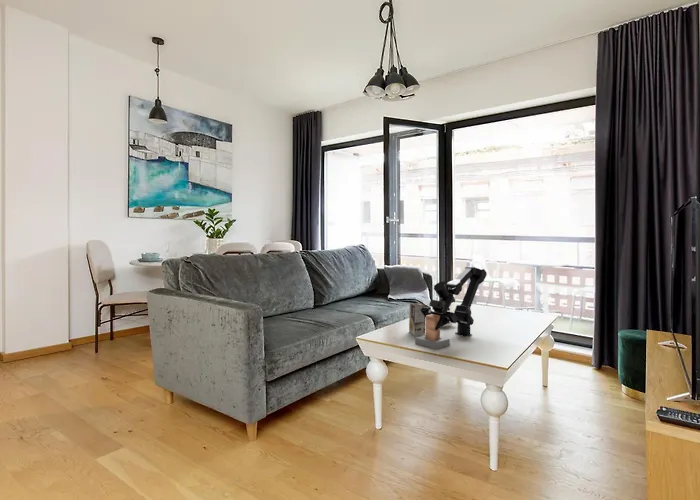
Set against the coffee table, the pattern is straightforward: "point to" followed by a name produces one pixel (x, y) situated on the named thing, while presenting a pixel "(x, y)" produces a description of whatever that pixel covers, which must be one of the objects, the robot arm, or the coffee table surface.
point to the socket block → (432, 342)
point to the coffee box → (416, 319)
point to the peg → (432, 327)
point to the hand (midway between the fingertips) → (431, 328)
